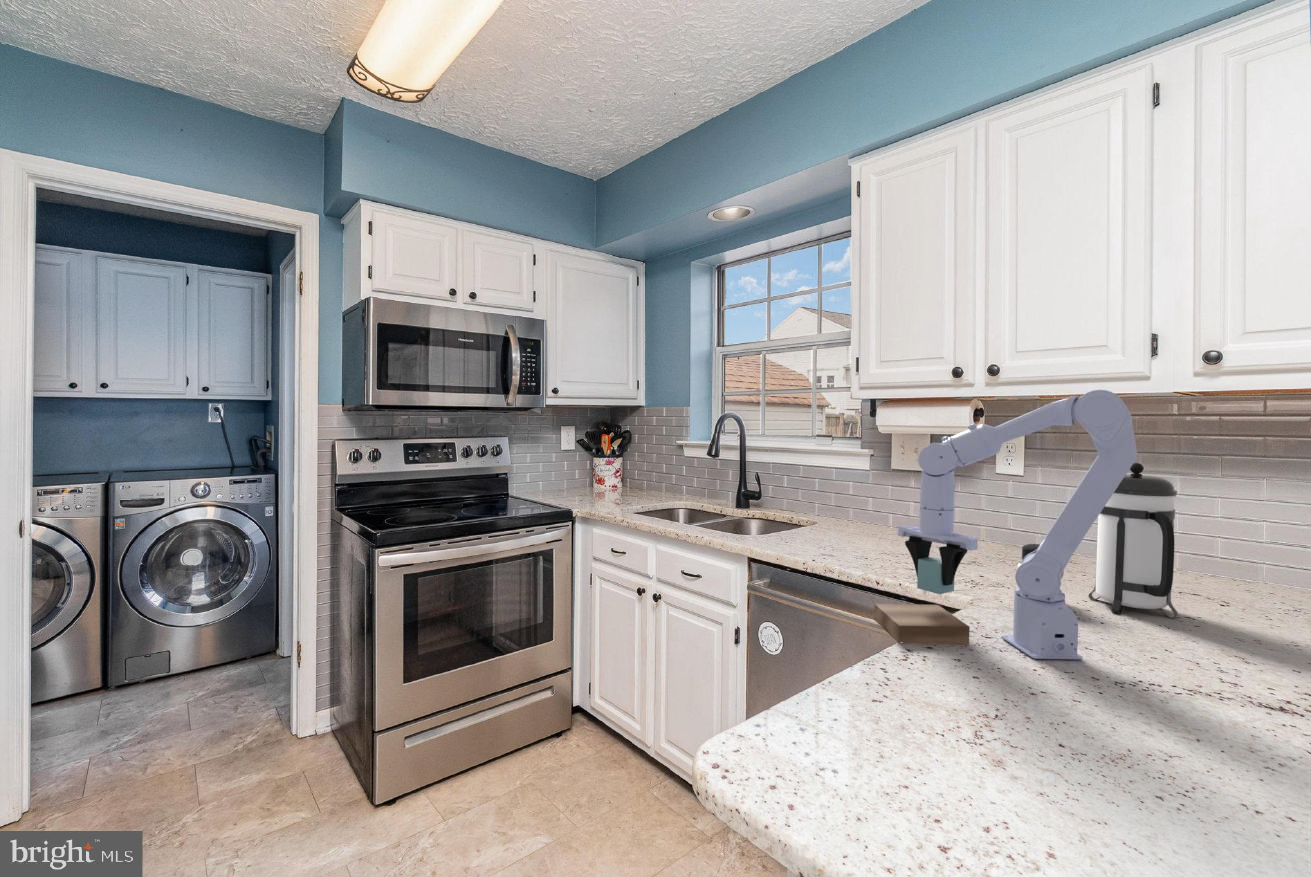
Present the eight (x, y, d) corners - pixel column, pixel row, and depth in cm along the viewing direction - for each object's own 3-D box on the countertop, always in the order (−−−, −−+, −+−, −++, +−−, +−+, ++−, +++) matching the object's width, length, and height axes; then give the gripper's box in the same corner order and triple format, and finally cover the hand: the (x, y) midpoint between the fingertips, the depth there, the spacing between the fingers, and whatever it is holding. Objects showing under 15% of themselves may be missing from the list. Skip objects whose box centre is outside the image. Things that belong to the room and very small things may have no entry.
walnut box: (968, 646, 103) (969, 626, 103) (898, 645, 103) (899, 625, 103) (937, 622, 115) (937, 604, 115) (874, 621, 115) (874, 603, 115)
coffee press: (1068, 603, 126) (1073, 461, 125) (1109, 593, 134) (1114, 459, 133) (1168, 630, 111) (1175, 468, 110) (1209, 617, 118) (1215, 465, 117)
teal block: (954, 591, 111) (955, 561, 111) (939, 594, 108) (940, 564, 108) (931, 585, 115) (932, 556, 114) (917, 588, 112) (918, 559, 112)
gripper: (988, 512, 107) (985, 587, 107) (914, 501, 119) (912, 569, 119) (965, 515, 103) (963, 593, 103) (892, 504, 115) (890, 574, 116)
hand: (934, 581), depth 111 cm, fingers closed on teal block, 4 cm apart
